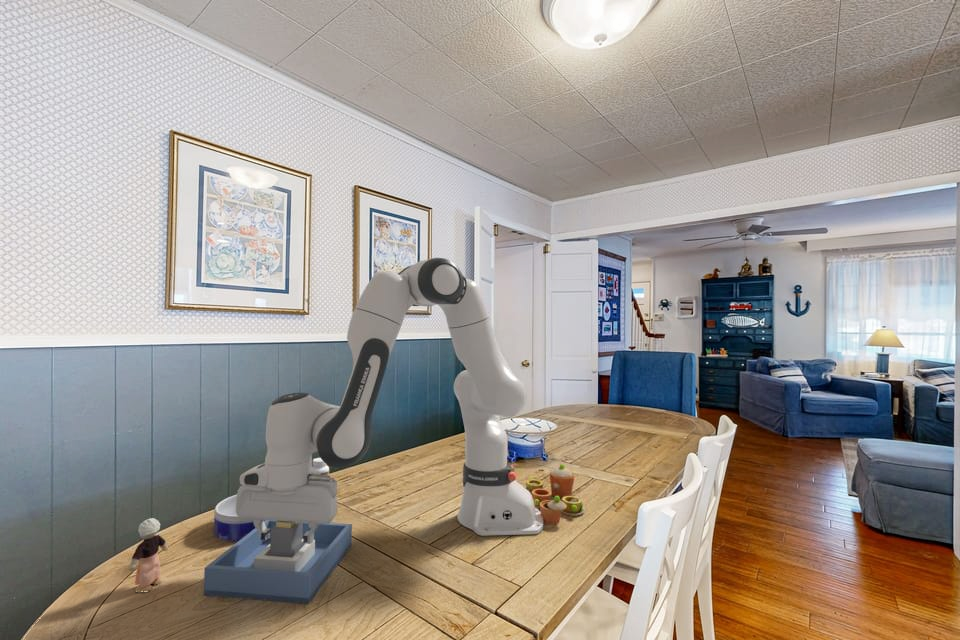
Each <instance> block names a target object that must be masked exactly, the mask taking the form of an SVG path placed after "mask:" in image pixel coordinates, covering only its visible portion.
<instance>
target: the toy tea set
mask: <svg viewBox="0 0 960 640" xmlns="http://www.w3.org/2000/svg"><path fill="white" fill-rule="evenodd" d="M549 481H550V488H551V489H546V488H544V482H543V481H542V480H540V479H536V478H533V477H529V478H528V479H527V480H525V486H526V487H525V486H524V485H523V484H521V485H522V486H523V487H524V488H525V489H527V490H528V491H529V492H530V493H531V495H532V498H533V500H534V505H535V506H536V507H535V508H537V507H539V508H538V509H540V510H539V511H540V512H541V516H542V517H543V523H544V524H546V523H547V524H546V525H550V524H555V525H558V524H559V523H560V521H561V520H560V519H561V514H564V515H565V516H569V515H570V516H569V517H579V516H578V515H580V516H582V515H583V514H584V513H585V509H584V508H583V507H584V504H583V502H582V498H581V497H578V496H574V495H573V496H572V494H573V487H574V482H575V474H574V473H573V472H571V470H570V469H568V468H566V467H565V464H564V463H561V464H560V465H559V467H555V468H554V469H553V470H551V471H550V472H549ZM552 496H553V497H554V496H555V497H554V498H553V500H552ZM560 498H562V499H560ZM581 514H582V515H581ZM557 523H558V524H557Z"/></svg>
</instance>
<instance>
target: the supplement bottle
mask: <svg viewBox="0 0 960 640" xmlns="http://www.w3.org/2000/svg"><path fill="white" fill-rule="evenodd" d="M311 474H315V475H323V476H324V475H329V476H330V466H329V465H327V464H326V463H325V462H324V461H323V460H322V459H321V458H320V457H317V458H312V468H311Z"/></svg>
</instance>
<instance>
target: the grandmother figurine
mask: <svg viewBox="0 0 960 640" xmlns="http://www.w3.org/2000/svg"><path fill="white" fill-rule="evenodd" d="M160 529H161V523H160V521H159V520H158V519H156V518H154V517H151V518H148V519H145V520H143V521H142V522H141V523H140V524H139V525H138V529H137V530H138V533H139V536H140V538H141V539H143V541H142V542H140V543H138V545H137V547H136V549H135V551H134V553H133V554H132V558H131V561H130V564H129V566H128V569H129V570H130V571H133V570H135V569H136V568H137V569H136V575H135V581H134V582H135V583H134V584H135V586H137V587H135V589H134V592H135V591H137V592H141V591H143V592H144V591H149V590H150V591H151V589H152V590H153V588H154V587H153V586H157V585H159V584H161V583H162V582H163V579H161V578H160V577H161V561H160V559H159V558H160V557H159V553H158V552H159V549H160V548H161V550H162V552H166V551H168V549H169V546H168V545H167V542H166V540H165V538H164V537H162V536H161V535H160V534H157V533H158V532H159V531H160ZM150 584H154V585H150ZM156 584H157V585H156ZM150 591H149V592H150Z"/></svg>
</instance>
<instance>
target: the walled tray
mask: <svg viewBox="0 0 960 640" xmlns="http://www.w3.org/2000/svg"><path fill="white" fill-rule="evenodd" d="M276 522H277V521H273V520H265V521H264V523H265V525H266V527H267V529H270V538H269V539H267V540H266V541H264V540H259V532H258V531H257V529H256V528H255V529H254V530H252V531H251V532H250V533H249V534H247V535H246V536H245V537H243V538H242V539H241V540H240V541H236V543H234V544H233V545H232V546H230V547H229V548H228V549H226V551H224V552H223V553H221V554H220V555H219V556H218V557H216V558H215V559H214V560H213V561H211V562H210V563H208V565H206V566H205V567H204V574H203V575H204V576H203V579H204V580H203V596H210V597H223V598H233V599H243V600H244V599H245V600H246V599H247V600H256V601H257V600H258V601H267V602H269V601H270V602H278V603H279V602H281V603H283V602H284V603H292V604H305V605H306V604H307V605H309V604H310V602H311V601H312V600H313V599H314V597H315V596H316V595H317V593H318V592H319V590H320V589H322V587H323V585H324V584H325V582H327V580H328V578H329V577H330V576H331V575H332V573H333V572H334V571H335V569H336V568H337V566H338V564H339V563H340V562H341V561H342V560H343V558H344V557H345V555H346V554H347V553H348V552H349V550H350V548H352V535H353V524H352V523H339V522H329V523H328V524H319V526H318V527H317V529H316V530H315V532H314V540H313V542H312V543H311V544H306V543H303V540H304V539H303V535H304V534H306V532H307V531H310V530H311V528H309V523H303V528H302V548H301V549H300V550H299V551H298V552H297V553H296V554H295V555H294V556H293V557H292V558H291V557H278V556H270V539H271V528H272V527H273V526H274V525H276Z"/></svg>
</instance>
